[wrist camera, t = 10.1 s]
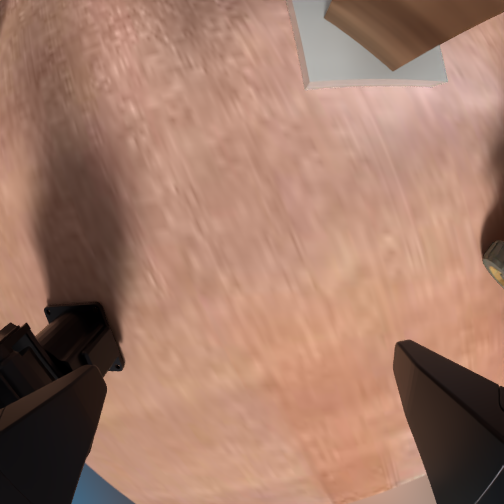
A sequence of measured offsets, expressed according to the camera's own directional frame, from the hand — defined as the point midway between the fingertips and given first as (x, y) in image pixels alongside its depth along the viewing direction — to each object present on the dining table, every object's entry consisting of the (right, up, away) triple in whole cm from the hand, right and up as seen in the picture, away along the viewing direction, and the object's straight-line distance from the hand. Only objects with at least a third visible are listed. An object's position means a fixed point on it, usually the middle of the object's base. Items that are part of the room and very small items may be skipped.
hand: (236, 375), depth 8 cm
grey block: (+7, +18, +8) cm, 21 cm away
